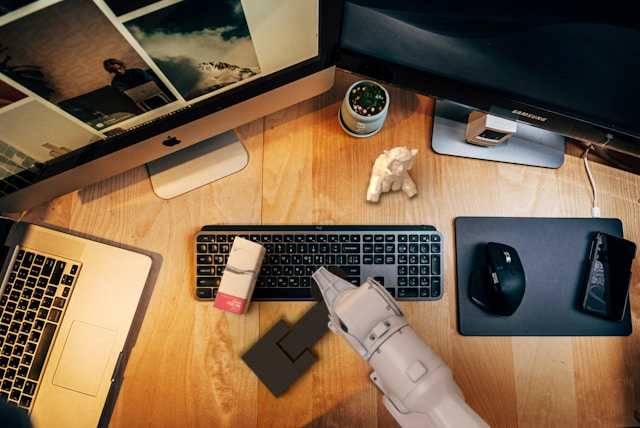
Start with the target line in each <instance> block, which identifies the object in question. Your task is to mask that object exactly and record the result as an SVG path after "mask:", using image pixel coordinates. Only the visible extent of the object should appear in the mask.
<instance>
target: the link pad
mask: <svg viewBox="0 0 640 428" xmlns="http://www.w3.org/2000/svg"><path fill="white" fill-rule="evenodd" d="M328 315H330V316H331V314H330V312H329V309H328V307H327V305H326V302H325V300H324V299H323V300H322V301H321V302H320V303H318V302H317V301H316V303H315V304H313V305H312V307H311V308H309V309H308V310H307V311H306V312H305V313H304V314H303V315H302V316H301V317H300V318H299V319H298V320H297V321H295V322H294V324H293V325H292V326H291V327H290V332H288V333H287V334H286V335H285V336H283V337H282V338H281V339H280V342H279V344H280V345H281V347H282V348H283V349H284V350H285V351H286V352H287V353H288V354H289V356H290V357H291V358H292V359H293V360H295V359H296V358H297V357H298V356H299V355H300V354H301V353H302V352H303V351H304V350H305V349H306V348H308V349H309V350H310V349H311V348H312V347H313V346H314V345H315V344H316V343H318V341H319V340H321V338H322V337H324V336H325V334H327V333H328V332H329V331H331V329H330V328H329V327H328V323H329V321H331V320H330V318H329V316H328ZM331 318H332V317H331ZM330 326H331V325H330Z"/></svg>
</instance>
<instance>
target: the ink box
mask: <svg viewBox="0 0 640 428" xmlns="http://www.w3.org/2000/svg"><path fill="white" fill-rule="evenodd" d="M233 240H234V241H233V244H232V246H231V250H230V253H229V256H228V259H227V262H226V265H225V268H224V271H223V275H222V278H221V280H220V283H219V286H218V289H217V293H216V295H215V299H214V302H213V305H212V307H213V308H214V309H218V310H221V311H224V312H228V313H231V314H234V315H236V316H237V315H238V316H242V315H243V314H245V313H247V311H248V308H249V306H250V302H251V299H252V296H253V293H254V290H255V287H256V283H257V280H258V277H259V274H260V271H261V267H262V265H263V261H264V259H265V255H266V251H267V249H266V247H264V246H263V244H259V243H256V242H253V241H252V240H249V239H245V238H242V237H239V236H235V238H234V239H233Z"/></svg>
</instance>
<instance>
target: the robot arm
mask: <svg viewBox="0 0 640 428" xmlns="http://www.w3.org/2000/svg"><path fill="white" fill-rule="evenodd" d="M311 277H312V278H313V280H314V281H315V283H314V284H313V285H311V287H310V290H309V291H310V296H312V297H313V299H314V300H315V301H316V303H317V302H318V303H320V302H321V301H322V300H323V299H324V300H325V302H326V305H327V307H328V309H329V312H330V314H331V316H330V315H328V316H329V318H330V320H331V321H329V323H328V327H329V328H330V331H331V332H332V333H333V334H334V335H335V336H339V335H341V337H342V338H343V340H344V341H345V342H346V343H347V344H348V345H349V347H350V348H351V349H352V350H353V352H354V353H356V354H357V355H358V356H359V357H360V358H361V359H363V360H364V361H365V362H366V363H367V364H368V366H371V368H372V369H373V371H372V373H371V374H370V375H369V379H371V381H373V383H374V384H375V385H376V386H377V387H378V388H379V390H381V391H382V393H383V395H382V404H383V405H384V407H385V408H386V409H387V411H388V412H389V413H390V414H391V416H392V417H393V418H394V419H395V420H396V422H397V423H398V425H399V427H401V428H492V427H491V426H490V425H489V424H488V423H487V422H486V421H485V420H484V419H483V418H482V417H481V416H480V415H479V413H477V412H476V411H475V410H474V409H473V408H472V407H471V406H469V404H468V403H467V402H466V397H465V396H464V392H463V390H462V389H461V388H460V387H459V385H458V384H457V383H456V381H455V380H454V379H453V372H452V369H451V368H450V366H449V365H448V364H446V362H445V361H444V360H443V359H442V357H441V356H439V354H438V353H437V352H436V351H435V350H434V349H433V348H432V347H431V346H430V345H429V344H428V342H427V341H426V340H425V339H424V338H423V337H422V335H420V334H419V332H418V331H417V330H416V329H415V328H414V326H412V325H411V323H410V322H409V321H407V319H406V318H405V313H404V311H403V309H402V307H401V306H400V304H399V303H398V302H397V301H396V299H395V298H394V297H393V295H392V294H391V293H390V292H389V291H388V290H387V289H386V287H384V286H383V285H382V284H381V283H379V282H378V281H376V280H375V279H373V278H372V277H371V276H370V277H367V278H366V281H365V282H364V283H363V284H361V285H360V286H359V287H358V286H356V285H355V284H353V283H351V282H349V281H348V280H346V279H347V278H348V277H349V276H348V275H347V274H346V272H345V271H344V270H343V269H342V268H341V267H340V266H335V265H334V266H332V267H331V268H330V269H329V270H328V269H326V268H325V267H324V266H323V265H321V266H320V267H319V268H318V269H316V271H315V272H313V274H312V275H311ZM331 317H332V318H331ZM330 325H331V326H330Z"/></svg>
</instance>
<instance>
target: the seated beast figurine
mask: <svg viewBox="0 0 640 428" xmlns="http://www.w3.org/2000/svg"><path fill="white" fill-rule="evenodd" d="M418 152H419V149H417V148H414V149H409V148H408V147H406V146H395V147H393V148H391V149H390V150H387V149H384V150H383V153H381V154H379V156H378V157H377V158H376V160H375V161H374V164H373V166H372V170H371V177H370V179H369V185H368V189H367V190H366V192H367V193H366V199H365V200H366V202H371V203H378V202H379V199H380V196H381V195H382V193H388V192H389V191H390V190H391V191H393V192H394V191H396V192H397V191H398V190H399V191H400V190H402V191H403V192H404V193H405V194H406V195H407V196H408V198H411V197H413V196H415V195H416V194H418V190H417V189H416V188H417V185H416V183H415V182H414V181H413V179H412V178H411V176H410V174H409V172H408V171H409V170H411V169H412V168H413V164H414V161H415V158H414V157H415V156H416V155H417V153H418Z"/></svg>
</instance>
